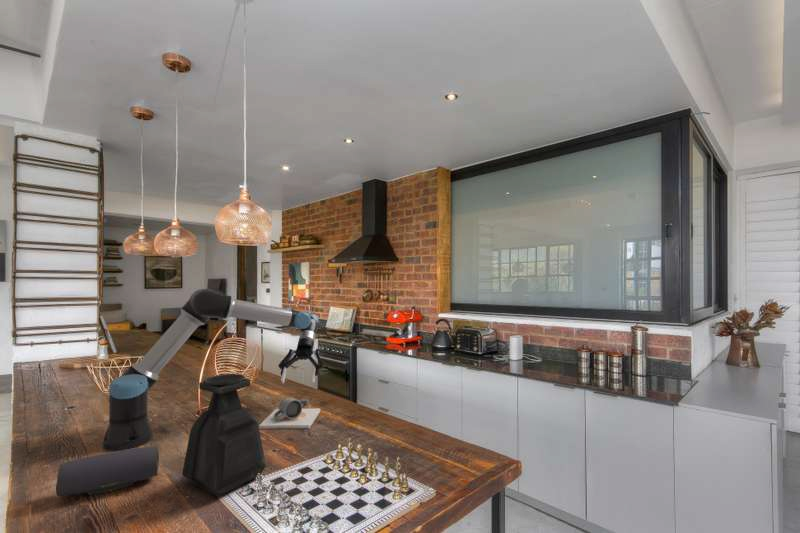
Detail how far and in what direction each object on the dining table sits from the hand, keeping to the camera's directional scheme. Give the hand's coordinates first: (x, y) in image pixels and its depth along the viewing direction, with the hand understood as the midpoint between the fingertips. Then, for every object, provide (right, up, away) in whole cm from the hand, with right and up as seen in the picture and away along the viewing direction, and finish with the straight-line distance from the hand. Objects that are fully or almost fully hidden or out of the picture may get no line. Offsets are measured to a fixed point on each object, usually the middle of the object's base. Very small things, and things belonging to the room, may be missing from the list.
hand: (297, 381), depth 173 cm
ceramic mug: (-2, -13, -9) cm, 15 cm away
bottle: (-7, -13, -57) cm, 59 cm away
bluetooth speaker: (-38, -13, -61) cm, 72 cm away
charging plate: (-1, -14, -1) cm, 14 cm away
